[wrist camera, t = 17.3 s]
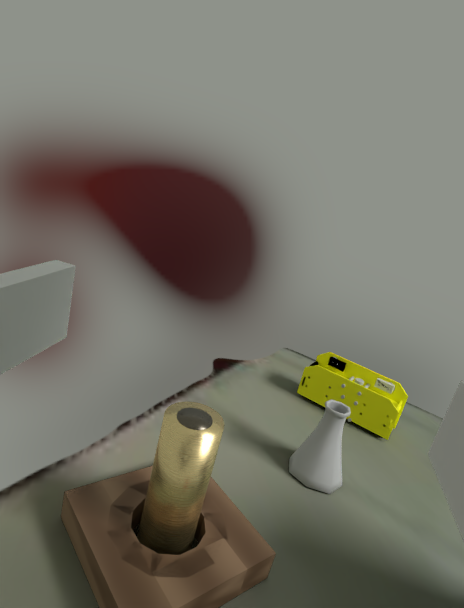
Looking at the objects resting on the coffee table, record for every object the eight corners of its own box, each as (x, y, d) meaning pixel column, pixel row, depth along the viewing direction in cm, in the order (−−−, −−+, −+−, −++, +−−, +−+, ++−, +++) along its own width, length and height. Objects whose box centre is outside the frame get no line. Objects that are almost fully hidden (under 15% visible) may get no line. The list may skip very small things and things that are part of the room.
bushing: (172, 518, 42) (202, 397, 38) (199, 558, 39) (236, 429, 34) (126, 536, 39) (153, 406, 35) (151, 582, 35) (185, 443, 31)
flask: (347, 472, 56) (372, 408, 53) (334, 504, 50) (361, 433, 47) (297, 447, 59) (318, 384, 56) (279, 473, 53) (301, 405, 50)
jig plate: (186, 475, 48) (191, 454, 47) (267, 578, 38) (275, 553, 37) (60, 517, 39) (64, 491, 38) (123, 664, 29) (130, 634, 28)
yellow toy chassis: (393, 431, 70) (412, 387, 67) (385, 445, 65) (404, 398, 63) (308, 387, 77) (321, 347, 75) (294, 397, 73) (308, 354, 70)
